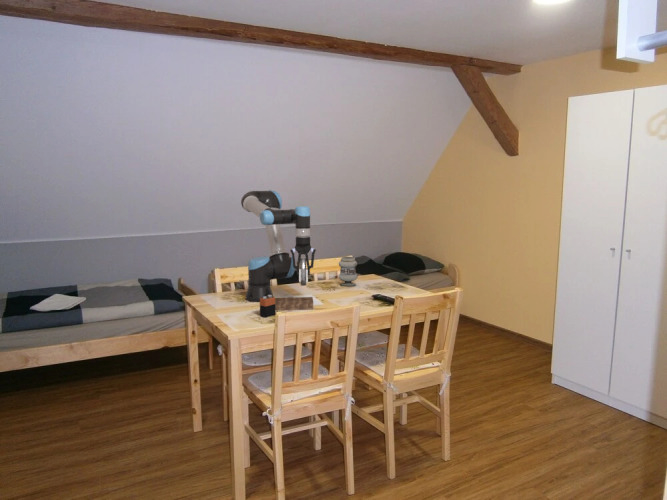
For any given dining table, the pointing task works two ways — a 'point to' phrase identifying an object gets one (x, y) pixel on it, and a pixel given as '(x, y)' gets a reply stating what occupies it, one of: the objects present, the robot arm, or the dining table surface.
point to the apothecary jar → (348, 271)
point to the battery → (267, 306)
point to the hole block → (294, 303)
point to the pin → (303, 271)
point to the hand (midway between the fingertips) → (303, 281)
